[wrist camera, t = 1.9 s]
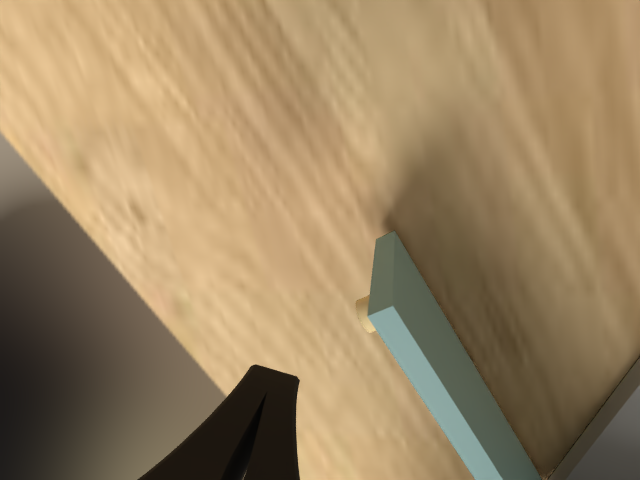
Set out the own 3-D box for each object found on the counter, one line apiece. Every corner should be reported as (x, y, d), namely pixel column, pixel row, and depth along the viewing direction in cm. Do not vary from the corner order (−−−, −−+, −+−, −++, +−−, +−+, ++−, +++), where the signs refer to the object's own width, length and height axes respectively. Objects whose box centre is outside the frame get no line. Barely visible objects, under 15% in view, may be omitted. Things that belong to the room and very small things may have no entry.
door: (546, 486, 20) (590, 618, 16) (507, 494, 21) (538, 623, 16) (394, 230, 16) (392, 306, 11) (351, 250, 17) (333, 331, 12)
